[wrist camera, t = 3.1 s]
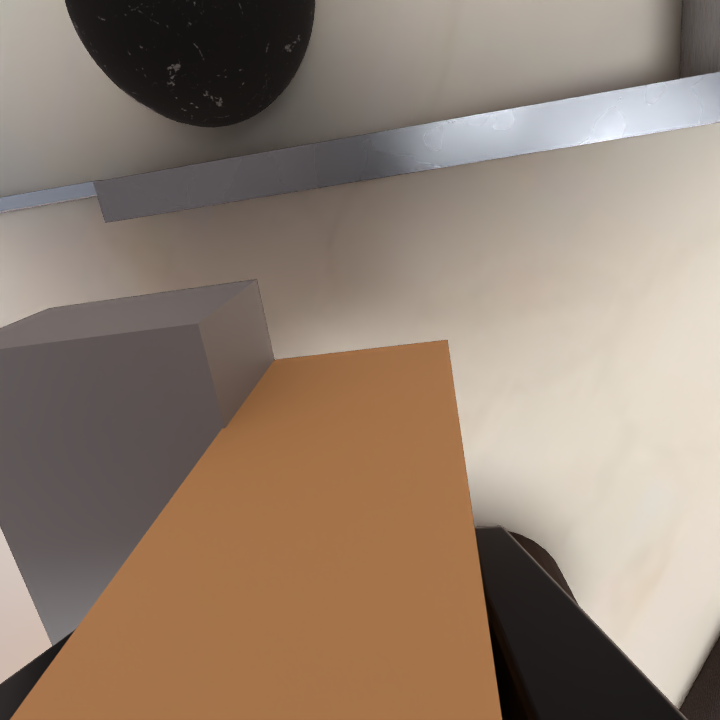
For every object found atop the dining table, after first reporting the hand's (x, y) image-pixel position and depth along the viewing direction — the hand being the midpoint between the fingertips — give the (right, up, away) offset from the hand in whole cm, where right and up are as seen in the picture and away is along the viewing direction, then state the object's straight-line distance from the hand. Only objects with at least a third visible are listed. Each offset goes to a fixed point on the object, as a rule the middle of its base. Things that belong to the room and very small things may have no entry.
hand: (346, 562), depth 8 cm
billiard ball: (-4, +13, +10) cm, 17 cm away
